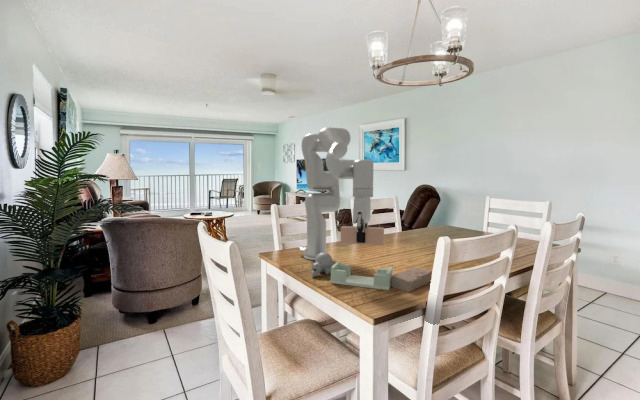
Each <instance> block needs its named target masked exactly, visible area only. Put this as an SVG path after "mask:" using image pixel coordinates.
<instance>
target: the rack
mask: <svg viewBox="0 0 640 400" xmlns="http://www.w3.org/2000/svg"><path fill="white" fill-rule="evenodd" d="M333 264H334V265H333V266H332V267H331V273H330V284H338V285H345V286H353V287H360V288H369V289H377V290H385V291H390V289H391V278H392V276H393V267H392V266H388V268H379V267H378V268H377V269H376V273H373V277H372V276H364V275H354V274H351V270H352V269H351V268H352V267H351V265H350V264H341V262H340V261H336V262H335V263H333Z"/></svg>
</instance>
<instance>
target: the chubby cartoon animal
mask: <svg viewBox="0 0 640 400" xmlns="http://www.w3.org/2000/svg"><path fill="white" fill-rule="evenodd" d="M334 264H335V263H334V262H333V258H332V256H331V254H330V253H328V252H326V253H325V252H322V253H319V254H318V255H317V256H316V258H315V260H314V263H313V262H310V265H311V270H310V274H311V275H312V277H315V278H316V277H318V275H319V273H325V274H326V275H329V274H331V267H332V266H333V265H334Z"/></svg>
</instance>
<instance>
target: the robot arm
mask: <svg viewBox="0 0 640 400" xmlns="http://www.w3.org/2000/svg"><path fill="white" fill-rule="evenodd" d="M351 138H352V137H351V133H350V132H349V131H348V129H346V128H341V127H331V126H330V127H329V126H328V127H324V128H322V129H320V131H319V132H318V133H308V134H306V135H304V136H303V138H302V140H301V152H302V156H303V159H304V163H305V177H306V186H307V188H308V189H309V191H326V192H316V193H315V192H313V193H310V194H307V195H306V197H305V198H304V199H305V200H304V205H305V206H304V207H305V212H306V247H303V246H302V247H299V253H304V254H303V258H304V259H307V260H311V261H315V258H316V256H317V255H318V254H319V253H322V252H325V253H327V220H326V218H325V217H324V215H323V214H322V213H335V212H337V211H339V209H340V206H341V195H340V182H339V181H340V180H352V197H353V200H354V201H353V209H352V211H353V212H352V223H353V224H356V227H357V243H365V227H369V222H370V221H371V212H372V211H371V210H372V209H371V206H372V205H371V203H372V202H371V198H373V197H374V162H373V160H371V159H342V158H344V157H345V156H346V155H347V152H348V146H349V145H350V143H351ZM320 152H321V153H326V157H325V165H326V166H325V167H326V168H327V170H326V171H325V170H324V162H323V159H322V157H321V156H320V155H319V154H318V153H320Z"/></svg>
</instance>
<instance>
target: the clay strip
mask: <svg viewBox="0 0 640 400" xmlns="http://www.w3.org/2000/svg"><path fill="white" fill-rule="evenodd" d="M340 244H346V245H348V244H350V245H368V246H369V245H370V246H384V245H385V227H381V226H380V227H379V226H378V227H377V226H368V227H365V243H357V225H356V226H355V225H354V226H351V225H342V226H341V227H340Z"/></svg>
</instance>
